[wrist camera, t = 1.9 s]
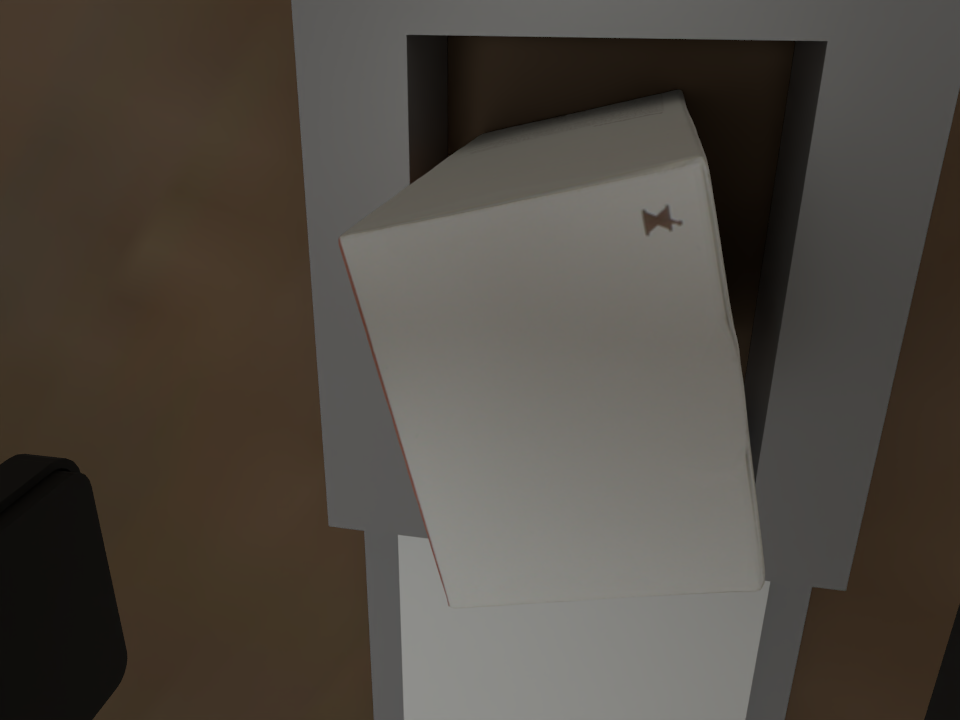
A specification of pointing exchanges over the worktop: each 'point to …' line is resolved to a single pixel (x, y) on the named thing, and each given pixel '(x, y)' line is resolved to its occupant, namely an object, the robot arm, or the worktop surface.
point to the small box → (566, 362)
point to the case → (770, 369)
